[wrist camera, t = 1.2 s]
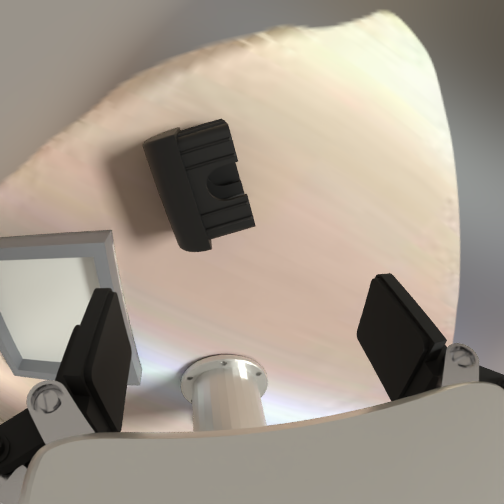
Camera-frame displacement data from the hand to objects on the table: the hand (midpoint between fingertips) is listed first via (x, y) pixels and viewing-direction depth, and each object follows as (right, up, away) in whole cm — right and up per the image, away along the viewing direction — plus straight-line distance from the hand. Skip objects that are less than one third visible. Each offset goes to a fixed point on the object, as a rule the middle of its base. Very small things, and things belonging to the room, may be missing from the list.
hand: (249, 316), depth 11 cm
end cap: (-5, +10, +19) cm, 22 cm away
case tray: (-25, -5, +23) cm, 35 cm away
